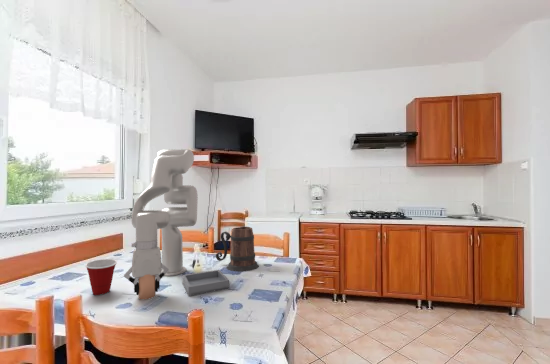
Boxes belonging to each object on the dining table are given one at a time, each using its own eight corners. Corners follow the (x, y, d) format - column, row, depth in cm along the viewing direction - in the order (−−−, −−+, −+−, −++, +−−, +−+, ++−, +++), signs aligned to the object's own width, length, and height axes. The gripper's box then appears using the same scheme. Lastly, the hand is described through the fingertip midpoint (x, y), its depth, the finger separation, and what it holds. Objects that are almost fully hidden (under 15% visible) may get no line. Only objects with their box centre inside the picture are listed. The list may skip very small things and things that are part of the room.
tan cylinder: (138, 295, 106) (138, 271, 106) (155, 292, 109) (155, 269, 109) (138, 300, 101) (138, 275, 101) (156, 297, 103) (156, 273, 103)
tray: (182, 283, 118) (182, 275, 118) (219, 277, 125) (218, 269, 125) (188, 296, 104) (188, 287, 104) (229, 288, 111) (229, 280, 111)
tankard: (263, 263, 147) (263, 226, 148) (252, 272, 131) (251, 231, 132) (223, 260, 154) (223, 224, 154) (208, 269, 138) (208, 229, 138)
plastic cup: (93, 300, 102) (93, 267, 102) (79, 294, 107) (79, 263, 108) (122, 290, 111) (122, 260, 111) (108, 285, 117) (108, 257, 117)
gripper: (120, 249, 98) (120, 300, 97) (171, 244, 105) (172, 291, 105) (121, 245, 104) (121, 293, 104) (169, 241, 112) (170, 285, 112)
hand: (147, 291), depth 105 cm, fingers closed on tan cylinder, 6 cm apart
